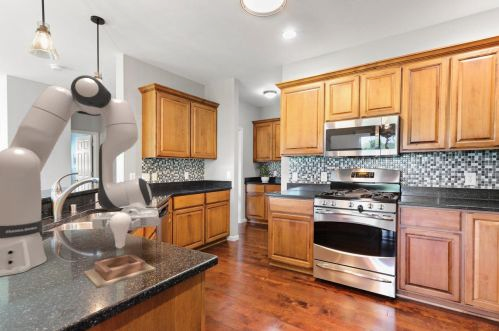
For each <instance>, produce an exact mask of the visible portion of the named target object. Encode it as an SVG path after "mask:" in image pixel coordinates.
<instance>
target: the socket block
mask: <svg viewBox="0 0 499 331" xmlns="http://www.w3.org/2000/svg"><path fill="white" fill-rule="evenodd" d="M154 271H155V272H156V267H154V266H152V265H151V264H149V263H147V262H146V261H145V259H142V258H140V257H139V256H137V255H135V254H133V253H127V254H123V255H118V256H115V257H111V258H106V259H103V260H98V261H94V268H92V269H91V268H90V269H88V270H85V271H83V274H84V275H85V277H87V279H88V280H89V281H90V282H91V283H92V284H93V285H94V286H95V287H96V289H100V288H102V287H107V286H108V285H112V284H116V283H119V282H123V281H125V280H128V279H131V278H132V279H133V278H135V277H139V276H142V275H144V274H148V273H152V272H154Z"/></svg>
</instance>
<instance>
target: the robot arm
mask: <svg viewBox="0 0 499 331" xmlns="http://www.w3.org/2000/svg"><path fill="white" fill-rule="evenodd" d="M72 80H73V81H72V82H71V85H70V89H68V88H66V87H63V86H59V85H50V86H48V87H47V88H46V89H45V90H43V91H42V93H41V94H39V96H38V97H37V98H36V99H35V101H34V102H33V103H32V105H31V107H30V108H29V110H28V111H27V113H26V115H25V116H24V118H23V119H22V120H21V122H20V124H19V126H18V127H17V131H16V133H15V134H14V137H13V139H12V140H11V142H10V143H11V144H10V145H9V147H8V148H4V149H2V150H1V151H0V277H4V276H10V275H15V274H20V273H24V272H27V271H29V270H30V269H32V268H35V267H37V266H40V265H42V264H43V263H46V262H47V260H48V258H47V256H46V253H45V252H46V251H45V248H44V243H43V235H44V221H43V220H42V186H41V185H42V184H41V183H42V182H41V172H42V170H43V169H44V167H45V165H46V163H47V161H48V159H49V158H50V157H51V154H52V152H53V150H54V147H55V146H56V145H57V142H58V141H59V139H60V138H61V136H62V134H63V132H64V130H65V128H66V126H67V125H68V123H69V121H70V120H71V118H72V116H73V115H74V113H78V114H81V115H86V116H92V117H99V116H102V118H103V121H104V127H105V138H104V141H103V142H102V143H101V144H100V145H99V149H98V188H97V202H98V205H99V206H101V208H103V209H104V210H107V211H114V210H117V209H120V208H122V209H121V211H120V212H119V213H126V214H128V215H129V216H130V217H131V220H132V222H130V225H129V230H128V231H136V230H138V229H143V228H149V227H153V228H154V227H157V226H159V221H160V219H159V218H160V216H159V209H158V207H153V205H152V202H153V192H152V191H153V190H152V189H151V188H152V187H151V185H150V183H148V182H147V181H146V180H145V179H143V178H141V177H139V178H134V179H133V178H132V179H129V180H125V181H124V180H123V181H120V182H114V166H113V165H114V161H115V160H116V158H117V157H119V156H120V155H121V154H123V153H125V152H127V151H128V150H130V149H131V148H132V147H134V146H135V145H136V143H137V141H138V139H139V130H138V126H137V120H136V118H135V114H134V112H133V109H132V107H131V105H130V103H129V102H128V101H126V99H122V98H112V93H111V92H110V91H109V90H108V88H107V87H105V85H104V84H103V83H102V82H101V80H99V79H98V78H96V77H94V76H92V75H87V74H86V75H85V74H84V75H79V76H77V77H75V78H74V79H72ZM123 207H124V208H123ZM115 214H116V213H112V214H111V213H110V214H108V213H107V214H103V215H98V216H94V217H93V218H92V220H91V224H92V229H93V230H104V229H105V230H111V228H110V224H109V223H110V219H111V218H112V217H113V216H114V215H115Z"/></svg>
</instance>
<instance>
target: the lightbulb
mask: <svg viewBox="0 0 499 331" xmlns="http://www.w3.org/2000/svg"><path fill="white" fill-rule="evenodd" d="M114 214H115V215H114V216H113V217H112V218H111V219H110V223H109V224H110V228H111V229H110V230H111V231H112V233H113V237H114V241H115V242H114V243H115V244H114V246H115V248H117V249H122V248H123V247H125V244H126V243H125V242H126V239H127V233H128V231H130V230H129V225H130V222H132V220H131V217H130V216H129V215H128V214H126V213H120V212H118V213H114Z"/></svg>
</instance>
